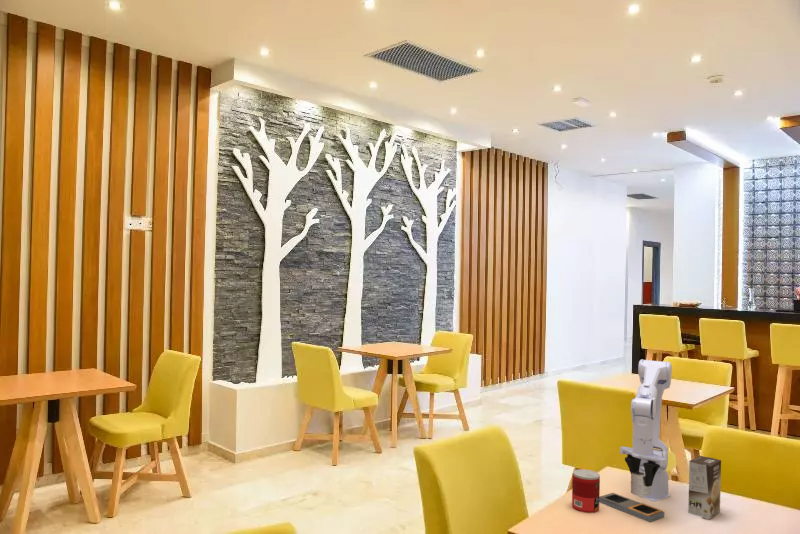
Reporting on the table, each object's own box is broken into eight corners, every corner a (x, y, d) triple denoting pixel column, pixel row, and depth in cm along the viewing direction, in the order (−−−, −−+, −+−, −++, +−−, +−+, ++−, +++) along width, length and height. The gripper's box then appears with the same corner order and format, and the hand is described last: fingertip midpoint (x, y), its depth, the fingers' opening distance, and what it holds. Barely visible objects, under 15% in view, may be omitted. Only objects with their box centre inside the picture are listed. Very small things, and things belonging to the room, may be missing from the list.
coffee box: (710, 520, 180) (711, 466, 180) (687, 514, 185) (688, 460, 185) (720, 512, 187) (721, 459, 187) (698, 506, 191) (699, 454, 191)
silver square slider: (639, 490, 186) (639, 470, 186) (650, 494, 182) (651, 474, 182) (630, 492, 184) (631, 472, 184) (642, 497, 180) (642, 476, 180)
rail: (612, 498, 196) (612, 492, 196) (664, 518, 181) (664, 511, 181) (598, 503, 192) (598, 496, 192) (650, 523, 177) (650, 516, 177)
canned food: (600, 515, 182) (601, 478, 182) (572, 512, 184) (573, 476, 184) (597, 505, 190) (598, 470, 190) (571, 503, 192) (571, 468, 192)
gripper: (613, 434, 187) (613, 478, 187) (656, 446, 175) (655, 493, 175) (628, 431, 191) (627, 474, 191) (671, 442, 179) (670, 489, 179)
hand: (642, 483), depth 183 cm, fingers closed on silver square slider, 4 cm apart
